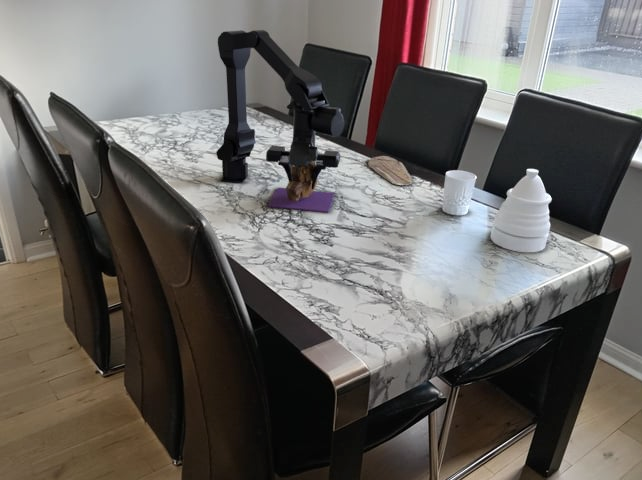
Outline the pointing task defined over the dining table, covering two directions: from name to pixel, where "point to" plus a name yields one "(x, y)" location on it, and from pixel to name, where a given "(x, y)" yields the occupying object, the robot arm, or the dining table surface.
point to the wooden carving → (301, 182)
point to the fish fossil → (390, 170)
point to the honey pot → (523, 216)
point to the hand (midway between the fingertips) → (302, 187)
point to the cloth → (303, 201)
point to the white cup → (458, 192)
